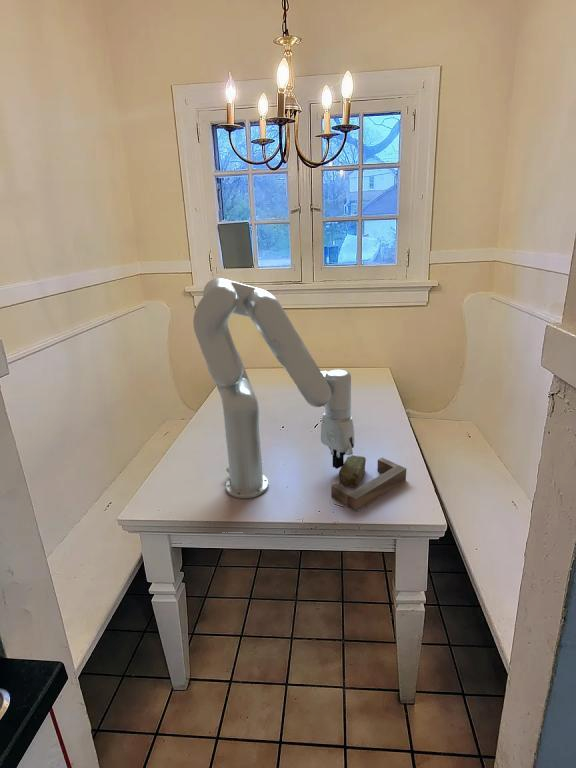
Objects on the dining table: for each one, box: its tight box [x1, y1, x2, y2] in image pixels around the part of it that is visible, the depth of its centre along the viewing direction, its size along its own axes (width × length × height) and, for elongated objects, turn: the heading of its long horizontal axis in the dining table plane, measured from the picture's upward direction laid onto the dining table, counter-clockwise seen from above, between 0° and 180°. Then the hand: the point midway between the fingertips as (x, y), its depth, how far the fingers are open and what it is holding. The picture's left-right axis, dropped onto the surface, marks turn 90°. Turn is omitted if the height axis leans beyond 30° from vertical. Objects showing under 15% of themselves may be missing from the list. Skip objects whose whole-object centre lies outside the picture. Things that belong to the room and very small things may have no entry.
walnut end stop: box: [330, 457, 407, 513], centre depth 130 cm, size 9×22×4 cm, turn 130°
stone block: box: [338, 454, 366, 488], centre depth 135 cm, size 6×12×5 cm, turn 158°
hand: (338, 466), depth 139 cm, fingers closed
